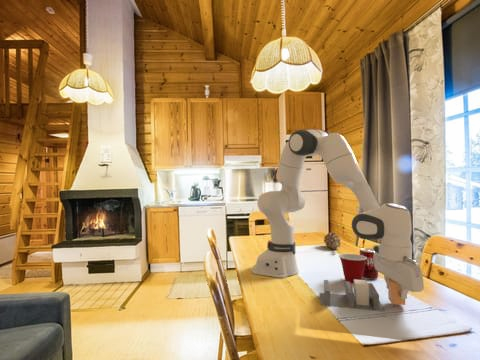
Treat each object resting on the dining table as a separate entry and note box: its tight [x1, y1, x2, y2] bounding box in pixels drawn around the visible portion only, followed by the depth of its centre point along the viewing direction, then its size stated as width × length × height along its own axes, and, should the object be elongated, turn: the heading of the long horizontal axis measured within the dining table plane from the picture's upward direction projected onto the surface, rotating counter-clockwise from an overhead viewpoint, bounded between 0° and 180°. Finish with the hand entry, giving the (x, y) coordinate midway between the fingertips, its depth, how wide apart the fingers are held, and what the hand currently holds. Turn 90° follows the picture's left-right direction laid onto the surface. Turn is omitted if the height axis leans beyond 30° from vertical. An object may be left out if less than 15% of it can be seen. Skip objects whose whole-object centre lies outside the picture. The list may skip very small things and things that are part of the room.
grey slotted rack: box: [319, 279, 386, 312], centre depth 91 cm, size 20×10×6 cm, turn 75°
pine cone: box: [323, 231, 342, 250], centre depth 163 cm, size 22×10×10 cm, turn 2°
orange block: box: [387, 278, 406, 306], centre depth 88 cm, size 4×4×7 cm
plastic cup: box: [338, 253, 367, 285], centre depth 110 cm, size 11×11×12 cm
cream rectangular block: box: [353, 279, 369, 306], centre depth 90 cm, size 4×4×7 cm
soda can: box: [359, 247, 379, 280], centre depth 117 cm, size 7×7×12 cm
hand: (396, 293), depth 88 cm, fingers closed on orange block, 5 cm apart
